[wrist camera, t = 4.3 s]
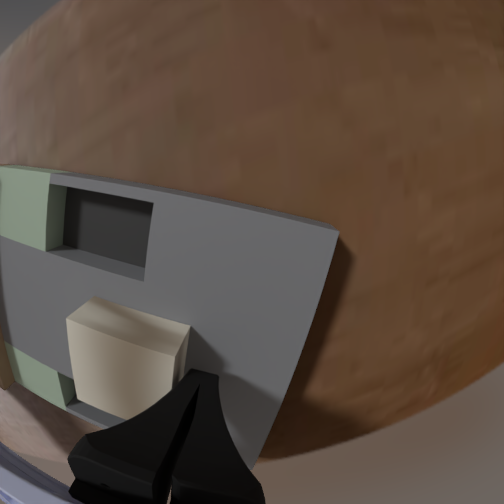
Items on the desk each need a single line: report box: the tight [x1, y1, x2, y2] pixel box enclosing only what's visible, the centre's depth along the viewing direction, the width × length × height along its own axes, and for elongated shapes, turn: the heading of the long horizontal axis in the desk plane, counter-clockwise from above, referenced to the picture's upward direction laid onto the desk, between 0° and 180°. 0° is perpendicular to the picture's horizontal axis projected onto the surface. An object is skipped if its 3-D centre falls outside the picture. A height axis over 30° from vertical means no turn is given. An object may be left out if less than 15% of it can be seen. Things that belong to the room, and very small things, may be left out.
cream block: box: [66, 296, 190, 420], centre depth 12 cm, size 5×5×2 cm
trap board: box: [0, 164, 339, 470], centre depth 13 cm, size 20×16×4 cm
